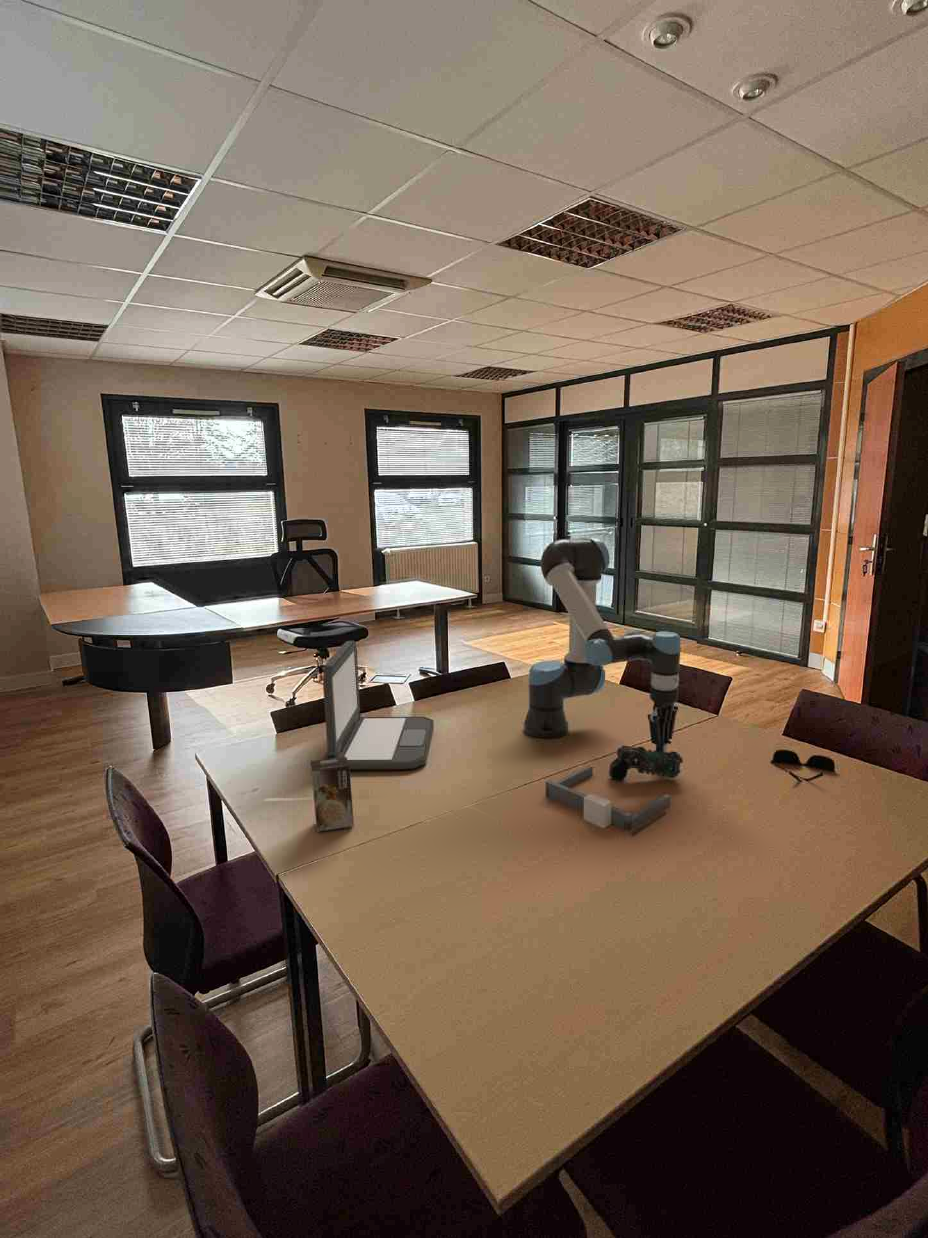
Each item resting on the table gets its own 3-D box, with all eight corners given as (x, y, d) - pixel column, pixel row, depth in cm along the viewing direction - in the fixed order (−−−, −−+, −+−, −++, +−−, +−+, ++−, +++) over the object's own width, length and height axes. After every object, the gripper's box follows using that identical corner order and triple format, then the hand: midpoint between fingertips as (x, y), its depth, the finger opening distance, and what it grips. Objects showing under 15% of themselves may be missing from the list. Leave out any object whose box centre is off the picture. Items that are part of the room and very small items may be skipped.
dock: (538, 799, 167) (538, 778, 165) (589, 773, 181) (589, 753, 180) (628, 840, 146) (629, 816, 145) (677, 807, 161) (678, 785, 160)
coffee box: (351, 814, 161) (348, 755, 158) (354, 826, 155) (350, 766, 152) (315, 819, 159) (310, 760, 155) (316, 832, 153) (311, 771, 149)
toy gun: (607, 773, 180) (613, 740, 177) (674, 783, 178) (681, 751, 176) (609, 780, 175) (615, 746, 173) (678, 790, 174) (685, 757, 172)
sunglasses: (768, 782, 174) (769, 765, 173) (770, 762, 186) (771, 746, 185) (838, 794, 166) (840, 777, 165) (836, 772, 179) (837, 756, 178)
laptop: (424, 771, 185) (420, 668, 178) (320, 772, 186) (312, 669, 179) (434, 724, 222) (431, 637, 216) (347, 724, 223) (342, 638, 217)
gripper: (664, 695, 171) (660, 775, 175) (688, 684, 179) (684, 761, 184) (639, 689, 176) (636, 767, 181) (664, 679, 185) (660, 754, 189)
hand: (660, 764), depth 182 cm, fingers closed
